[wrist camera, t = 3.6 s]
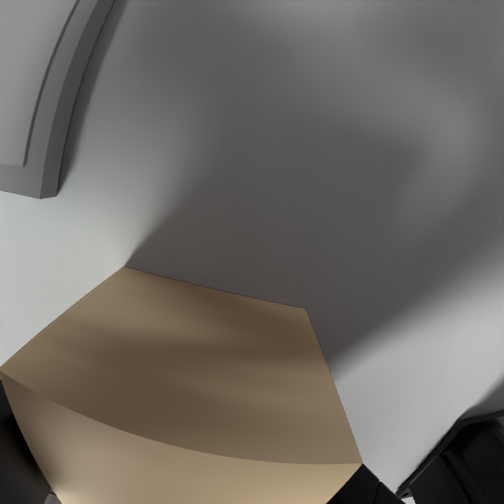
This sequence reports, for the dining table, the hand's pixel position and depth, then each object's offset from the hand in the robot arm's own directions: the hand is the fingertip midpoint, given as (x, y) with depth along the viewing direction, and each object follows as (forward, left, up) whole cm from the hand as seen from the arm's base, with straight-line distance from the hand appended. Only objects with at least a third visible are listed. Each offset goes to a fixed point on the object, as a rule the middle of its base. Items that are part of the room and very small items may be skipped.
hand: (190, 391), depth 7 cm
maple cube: (0, 0, -1) cm, 1 cm away
